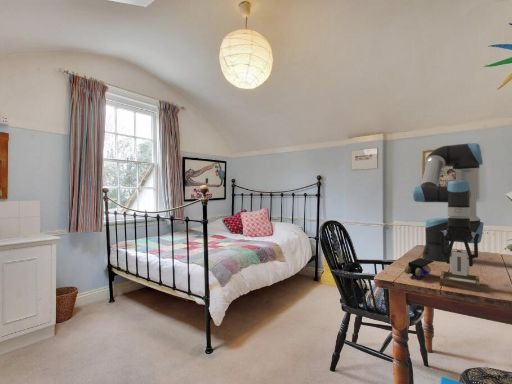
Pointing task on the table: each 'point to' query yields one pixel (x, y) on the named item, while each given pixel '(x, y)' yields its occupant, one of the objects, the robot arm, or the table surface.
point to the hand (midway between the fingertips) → (459, 272)
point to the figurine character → (418, 268)
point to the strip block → (459, 262)
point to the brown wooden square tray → (460, 281)
